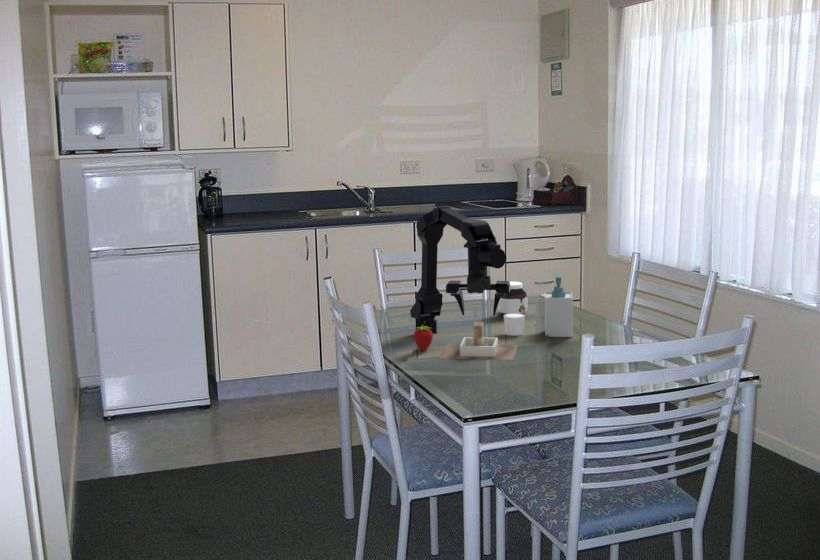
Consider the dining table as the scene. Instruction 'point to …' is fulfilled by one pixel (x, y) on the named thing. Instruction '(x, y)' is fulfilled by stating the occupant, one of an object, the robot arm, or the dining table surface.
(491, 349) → the white rectangular tray
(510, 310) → the spread jar
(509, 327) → the white cup
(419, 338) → the strawberry
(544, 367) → the dining table surface
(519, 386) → the dining table surface
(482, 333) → the tan cardboard-colored prism
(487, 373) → the dining table surface
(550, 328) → the soap bottle
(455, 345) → the brown slab
